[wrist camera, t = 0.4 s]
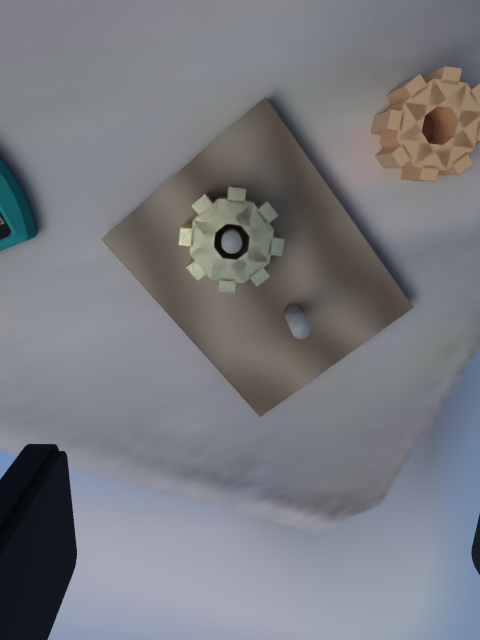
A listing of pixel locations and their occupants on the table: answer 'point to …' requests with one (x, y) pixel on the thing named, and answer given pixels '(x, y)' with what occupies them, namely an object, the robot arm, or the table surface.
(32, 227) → the digital multimeter
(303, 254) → the gear board
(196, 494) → the table surface
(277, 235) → the green gear
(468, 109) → the tan gear
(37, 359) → the table surface
